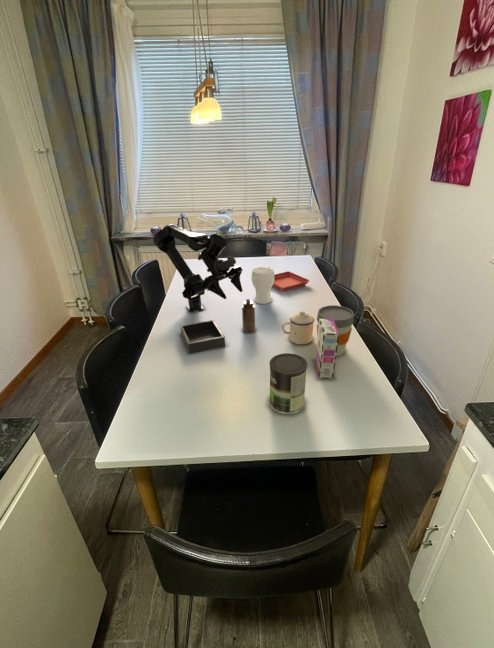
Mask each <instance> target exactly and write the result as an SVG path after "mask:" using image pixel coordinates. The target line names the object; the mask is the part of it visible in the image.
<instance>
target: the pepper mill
mask: <svg viewBox="0 0 494 648" xmlns="http://www.w3.org/2000/svg"><path fill="white" fill-rule="evenodd" d="M255 307H256V306H255V305H254V301H253V300H251V299H250V298H246V299H245V300H244V301H243V302H242V305H241V319H242V321H241V322H242V331H243V332H244V333H248V334H251V333H253V332H255V331H256V308H255Z"/></svg>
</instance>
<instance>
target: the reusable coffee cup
mask: <svg viewBox="0 0 494 648" xmlns="http://www.w3.org/2000/svg"><path fill="white" fill-rule="evenodd" d="M316 315H317V316H316V321H317V324H316V337H317V338H318V328H319V319H334V322H335V324H336V327H337V330H338V333H339V340H338V347H337V354H336V357H339V356H342V355H343V354H344V353H345V350H346V346H347V343H349V340H350V337H351V333H352V329H353V328H352V326H353V324H354V321H355V319H354V318H355V313H354V311H353V310H352V309H351V308H349V307H346V306H342V305H335V304H334V305H325V306H322V307H320V308H319V309H318V311H317V314H316Z"/></svg>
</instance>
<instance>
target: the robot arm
mask: <svg viewBox="0 0 494 648" xmlns="http://www.w3.org/2000/svg"><path fill="white" fill-rule="evenodd" d="M176 239H177V240H179V241H181V242H183V243H185V244H187V247H188V248H189V249H190V250H192V251H193V252H199V251H201V252H199V253H198V256H197V260H198V261H202V262H203V264H205V266H206V268H207V269H206V271H207V273H210V274H211V275H208V276H206V277H205V278H204V279H203V278H202V276H201V275H200V274H199V273H196V274H195V273H193V271H192V269H191V268H190V267H189V265H188V264H187V262H186V260H185V258H183V256H182V255H181V253H180V252H179V250H178V249H177V247H176ZM152 240H153V243H154V245H155V246H156V247H157V249H158V250H159V251H161V252H163V253H165V254H166V255H167V257H168V258H169V259H170V262H171V263H172V264H173V266H174V267H175V269H176V270H177V272H178V274H179V275H180V277H181V279H183V287H184V289H183V291H182V292H181V295H182V297H183V298H184V299H186V300H187V303H188V305H187V306H186V307H187V309H188V311H189V313H193V312H197V311H199V312H200V311H203V310H205V307H203V304H202V298H201V296H202V295H203V296H204V295H205V292H206V291H207V292H208V291H210V292H211V293H213V294H215V295H217V296H219V297H220V298H222V299H223V300H226V299H227V296H226V294H225V292H224V290H223V288H222V287H221V285H220V281H222V280H225V279H229V280H230V283H231V284H232V285H233V286H234V287H235V288H236V289H237V291H239V292H240V293H243V291H244V290H243V286H242V282H241V275H242V273H243V271H244V270H243V268H242V266H241V265H235V264H237V261H236V258H235V257H234V256H233V255H232V256H229V257H226V259H225V260H223V259H220V257H218V256H220V255H221V253H222V252H223V250H224V249H225V248H226V247H227V240H226V238H225V237H223V236H222V235H219V234H217V232H214V233H211V234H210V236H208V235H207V234H206V233H202V232H200V233H199V232H192V231H189V230H188V229H185V228H183V227H181V226H178V224H176V223H170V224H166V225H164V226H163V228H162V229H160V230H159V231H157V233H155V234H154V236H153V239H152Z"/></svg>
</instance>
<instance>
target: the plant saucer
mask: <svg viewBox="0 0 494 648" xmlns="http://www.w3.org/2000/svg"><path fill="white" fill-rule="evenodd" d="M308 283H310V279H308V278H305V277H303V276H301V275H299V274H296V273H294V272H292V271H284V272H279V273H274V283H273V286H272V287H273V288H275V289H277V290H279V291H281V292H287V291H290V290H294V289H297V288H301V287H304V286H306V285H307V284H308Z"/></svg>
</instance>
